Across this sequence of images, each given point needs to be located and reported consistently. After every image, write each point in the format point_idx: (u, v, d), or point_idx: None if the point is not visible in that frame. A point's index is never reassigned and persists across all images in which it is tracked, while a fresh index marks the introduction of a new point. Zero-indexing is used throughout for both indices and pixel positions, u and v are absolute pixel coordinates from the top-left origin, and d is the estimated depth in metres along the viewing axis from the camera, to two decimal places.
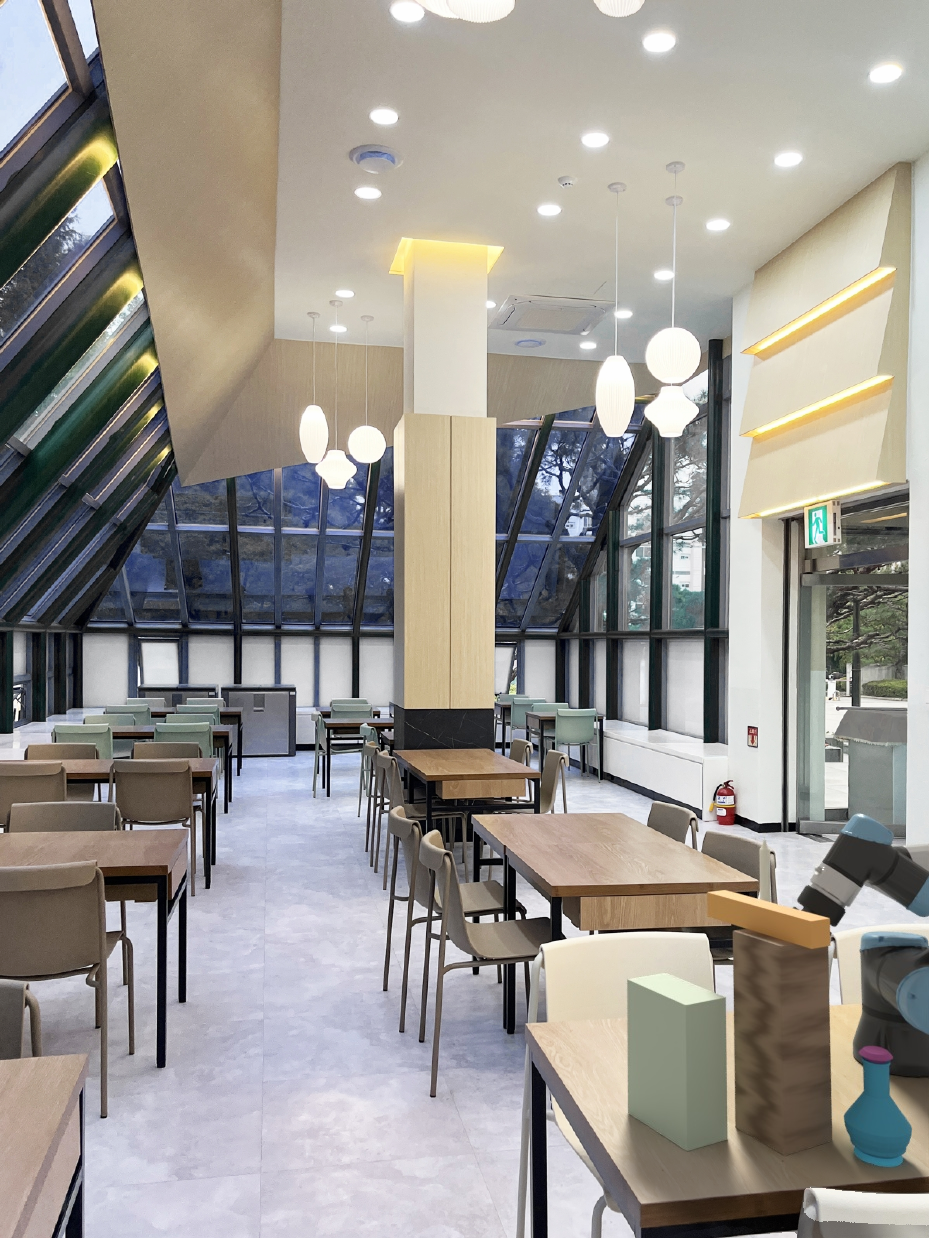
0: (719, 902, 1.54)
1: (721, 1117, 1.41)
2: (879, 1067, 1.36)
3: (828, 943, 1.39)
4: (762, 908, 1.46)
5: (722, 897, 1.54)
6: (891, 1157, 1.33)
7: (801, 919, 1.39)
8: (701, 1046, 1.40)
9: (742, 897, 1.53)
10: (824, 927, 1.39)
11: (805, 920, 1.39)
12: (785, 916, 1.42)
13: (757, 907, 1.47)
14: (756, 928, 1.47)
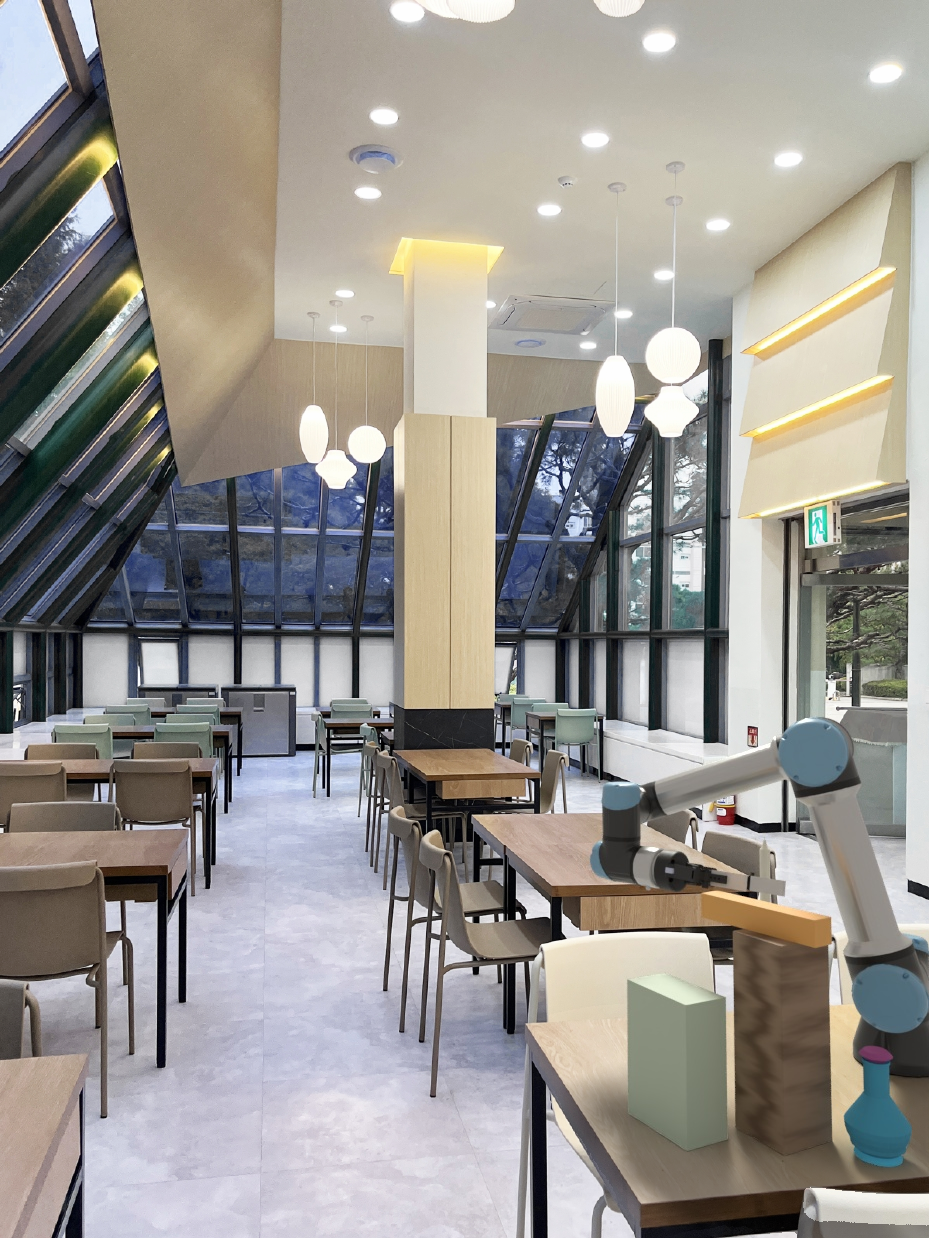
0: (715, 902, 1.54)
1: (721, 1117, 1.41)
2: (879, 1066, 1.36)
3: (830, 942, 1.40)
4: (761, 908, 1.46)
5: (718, 898, 1.54)
6: (891, 1157, 1.33)
7: (804, 918, 1.40)
8: (701, 1046, 1.40)
9: (737, 897, 1.53)
10: (826, 926, 1.40)
11: (808, 919, 1.39)
12: (787, 915, 1.42)
13: (756, 907, 1.47)
14: (755, 928, 1.47)
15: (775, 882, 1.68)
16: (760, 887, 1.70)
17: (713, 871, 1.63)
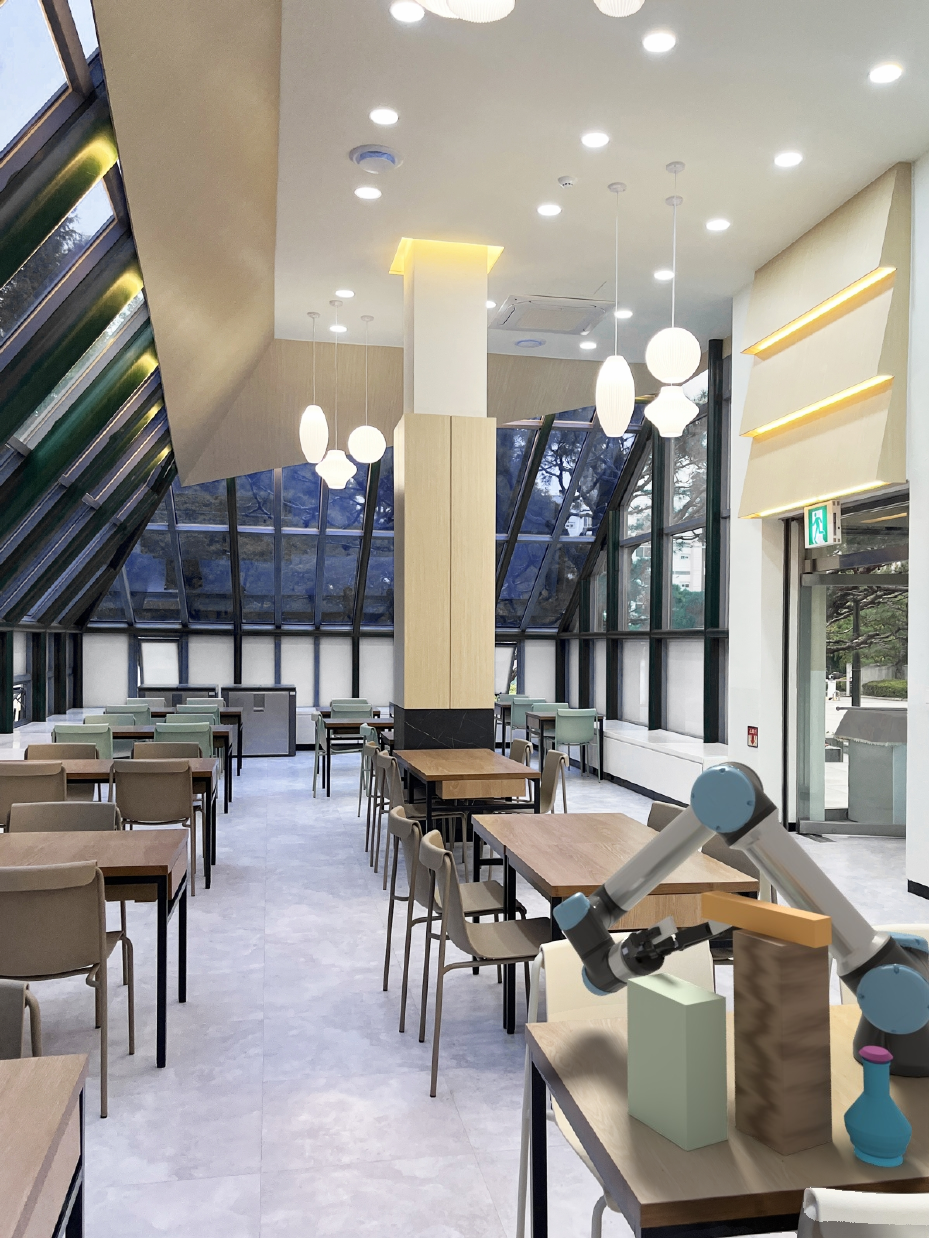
0: (715, 902, 1.54)
1: (721, 1117, 1.41)
2: (879, 1066, 1.36)
3: (830, 942, 1.40)
4: (761, 908, 1.46)
5: (718, 898, 1.54)
6: (891, 1157, 1.33)
7: (804, 918, 1.40)
8: (701, 1046, 1.40)
9: (737, 897, 1.53)
10: (826, 926, 1.40)
11: (808, 919, 1.39)
12: (787, 915, 1.42)
13: (756, 907, 1.47)
14: (755, 928, 1.47)
15: None
16: (718, 926, 1.66)
17: (649, 929, 1.61)
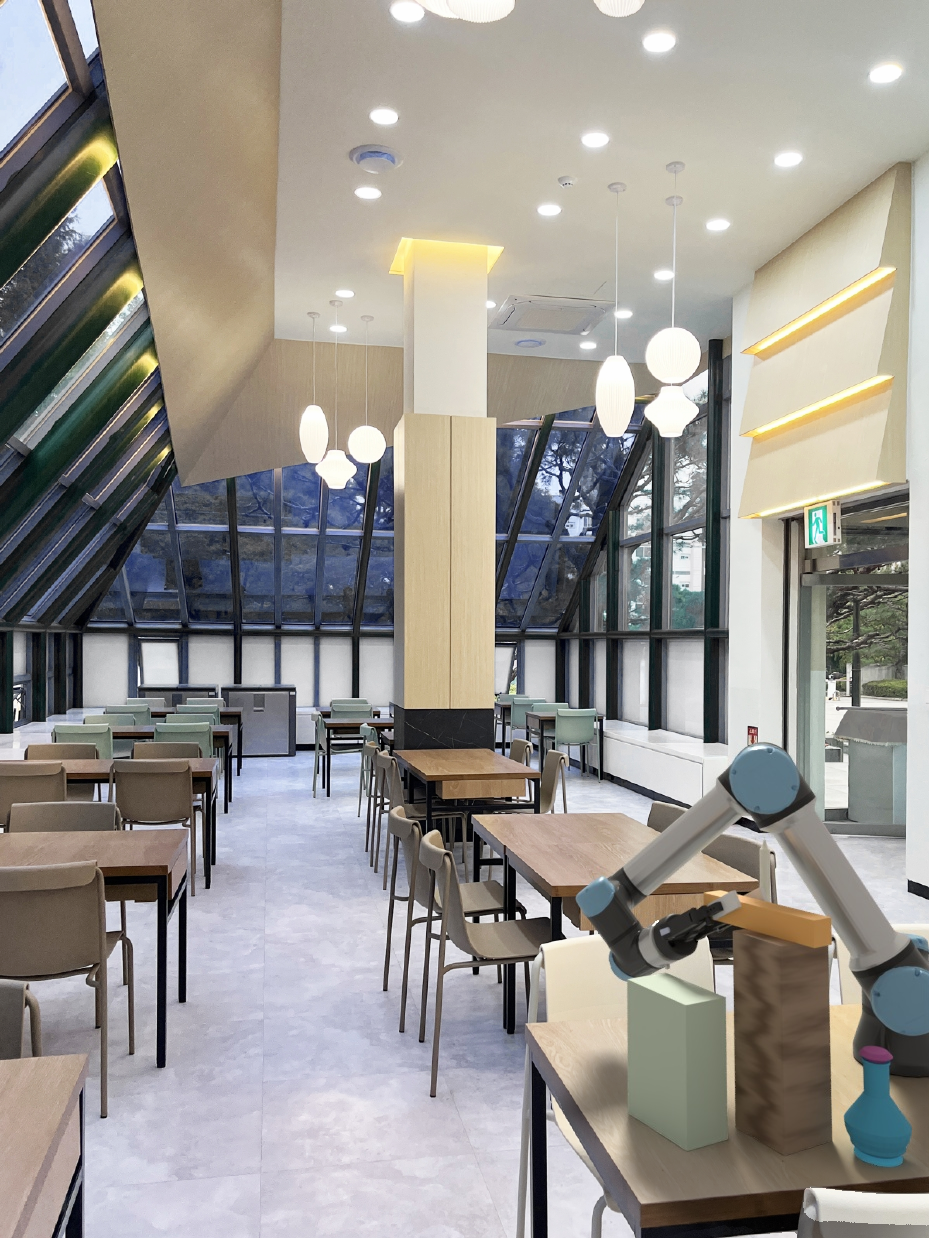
0: None
1: (721, 1117, 1.41)
2: (879, 1066, 1.36)
3: (829, 942, 1.40)
4: (762, 908, 1.46)
5: (719, 897, 1.54)
6: (891, 1157, 1.33)
7: (803, 918, 1.40)
8: (701, 1046, 1.40)
9: (739, 897, 1.53)
10: (826, 926, 1.40)
11: (808, 919, 1.39)
12: (787, 915, 1.42)
13: (757, 907, 1.47)
14: (756, 928, 1.47)
15: (754, 893, 1.54)
16: None
17: (709, 904, 1.54)
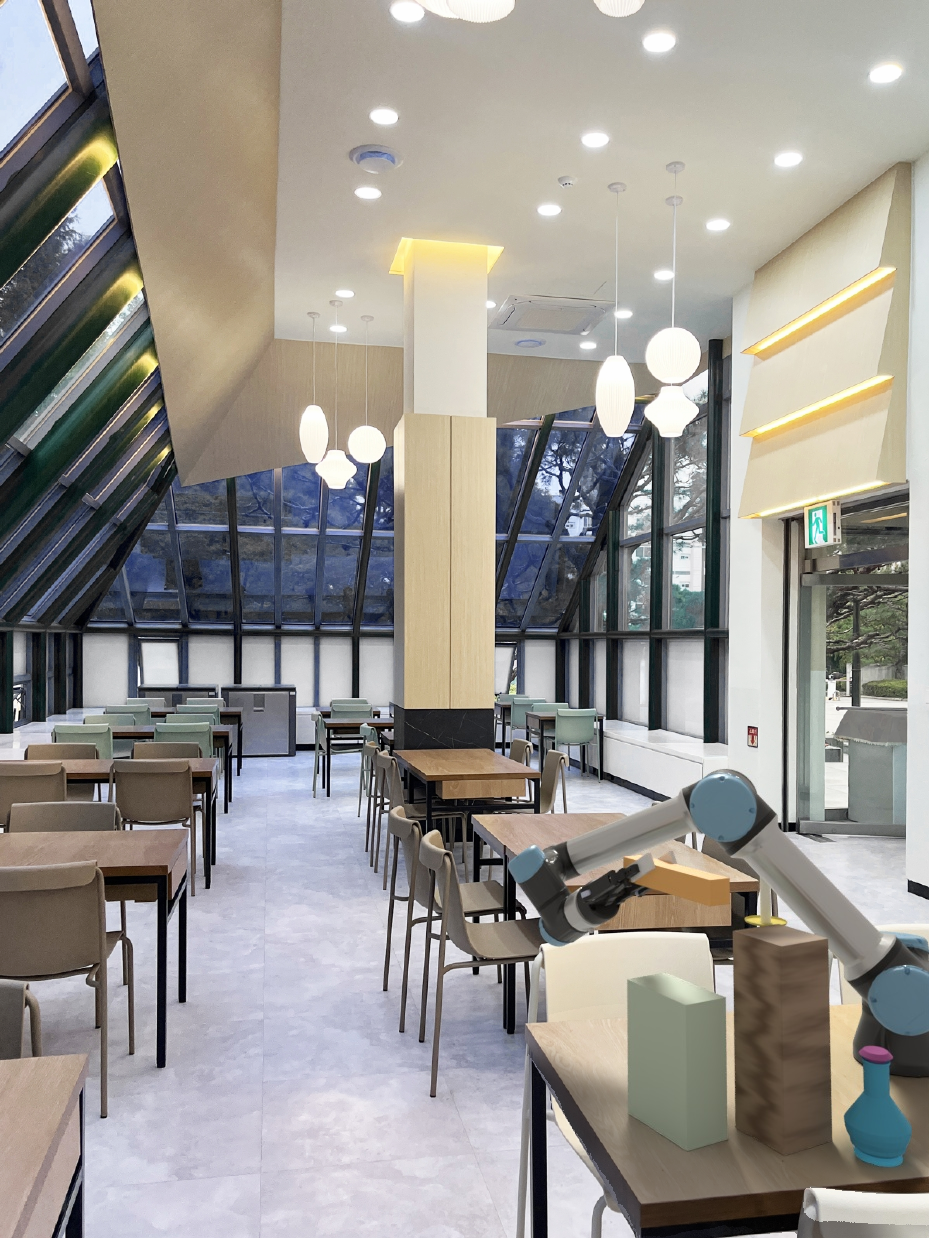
0: None
1: (721, 1117, 1.41)
2: (879, 1066, 1.36)
3: (727, 901, 1.45)
4: (669, 869, 1.52)
5: None
6: (891, 1157, 1.33)
7: (702, 878, 1.45)
8: (701, 1046, 1.40)
9: (655, 861, 1.59)
10: (723, 886, 1.45)
11: (705, 879, 1.45)
12: (688, 876, 1.48)
13: (665, 869, 1.53)
14: (664, 889, 1.53)
15: (665, 857, 1.59)
16: None
17: (628, 867, 1.60)
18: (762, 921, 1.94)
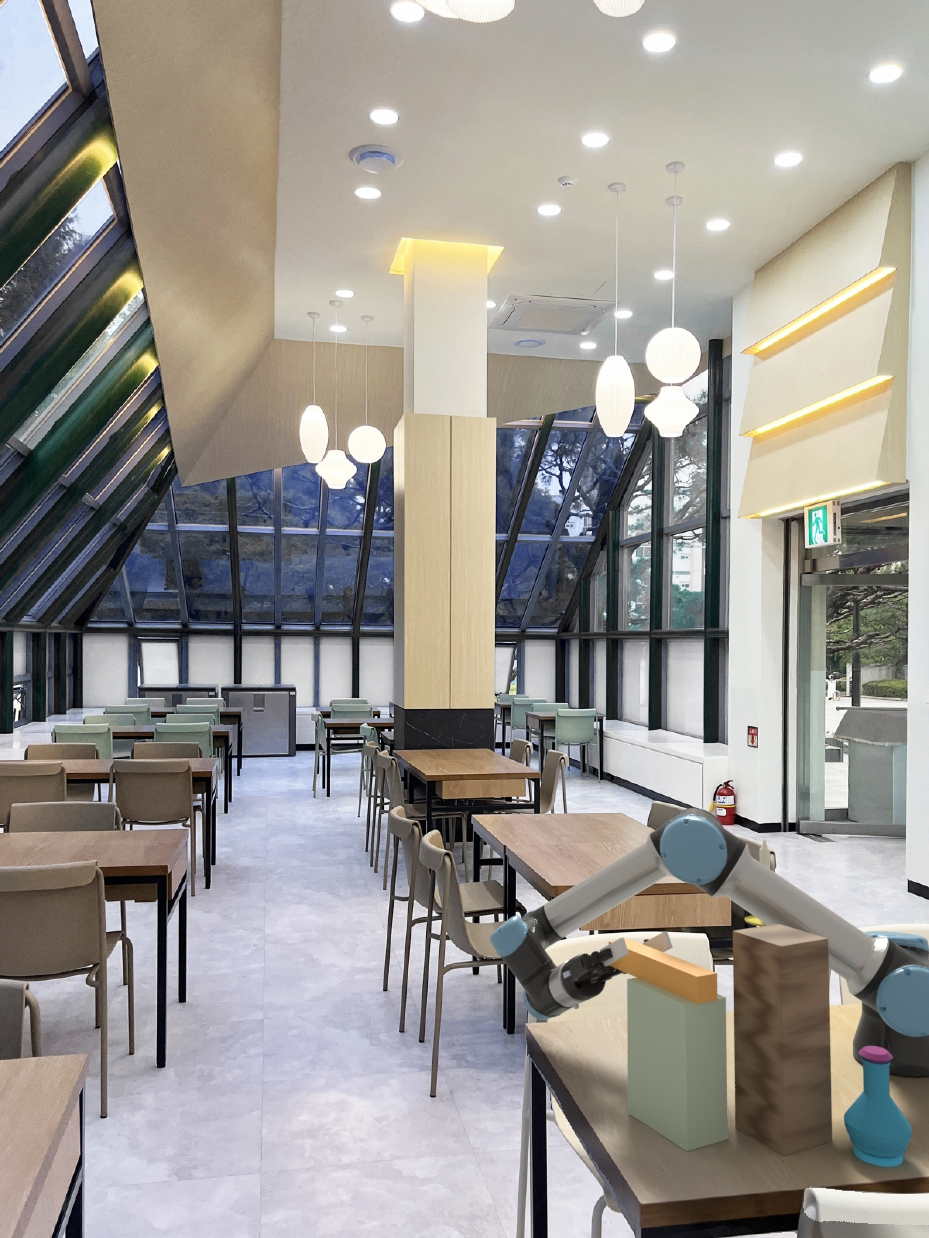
0: None
1: (721, 1117, 1.41)
2: (879, 1066, 1.36)
3: (715, 998, 1.41)
4: (655, 960, 1.48)
5: None
6: (891, 1157, 1.33)
7: (688, 974, 1.42)
8: (701, 1046, 1.40)
9: (641, 947, 1.56)
10: (711, 982, 1.41)
11: (692, 975, 1.41)
12: (675, 970, 1.44)
13: (651, 959, 1.49)
14: (650, 980, 1.49)
15: (659, 937, 1.57)
16: None
17: (601, 950, 1.56)
18: None
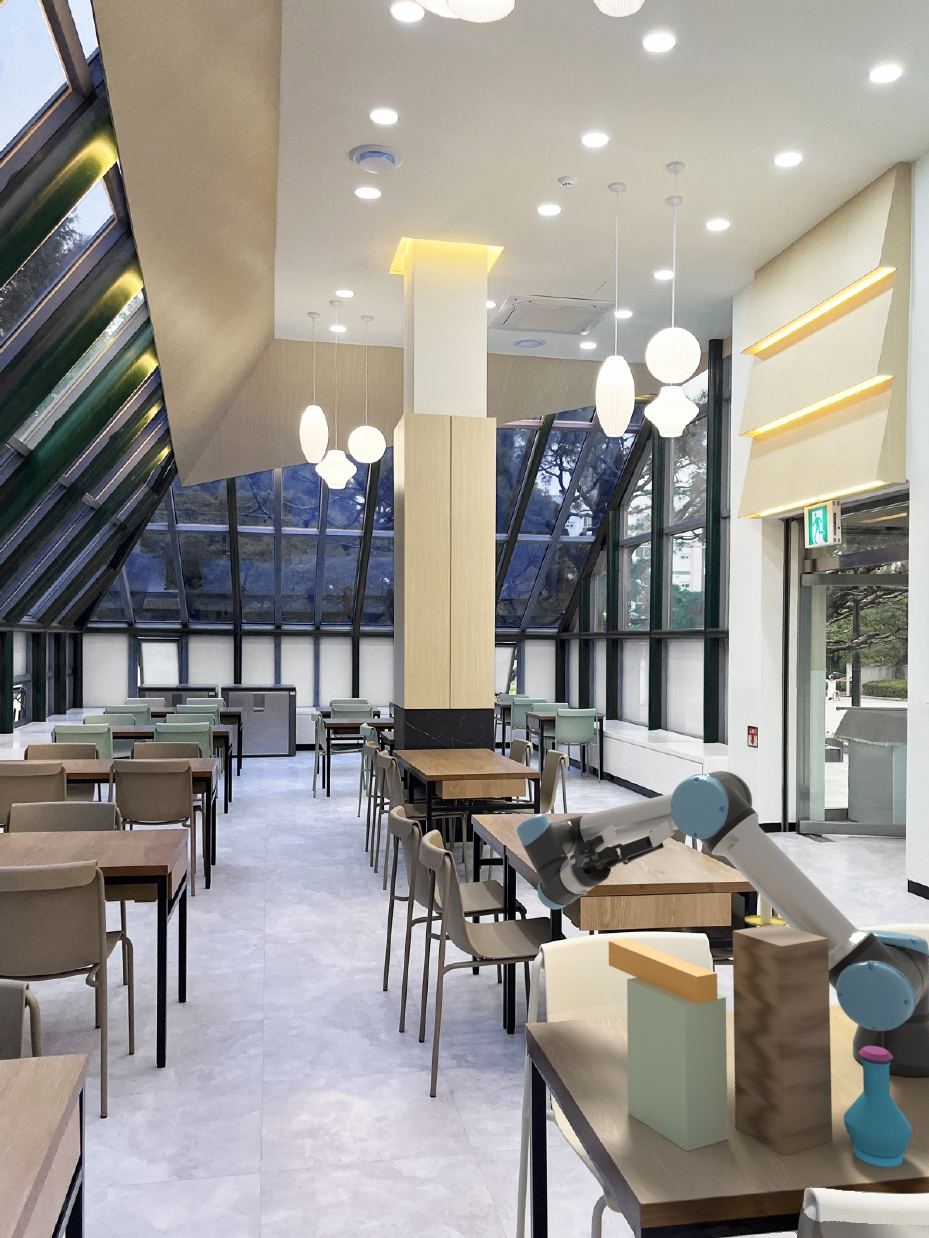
0: (619, 952, 1.57)
1: (721, 1117, 1.41)
2: (879, 1066, 1.36)
3: (715, 998, 1.41)
4: (655, 960, 1.48)
5: (621, 947, 1.56)
6: (891, 1157, 1.33)
7: (688, 974, 1.42)
8: (701, 1046, 1.40)
9: (641, 947, 1.56)
10: (711, 982, 1.41)
11: (692, 975, 1.41)
12: (675, 970, 1.44)
13: (651, 959, 1.49)
14: (650, 980, 1.49)
15: (663, 826, 1.81)
16: (657, 838, 1.82)
17: None
18: (762, 921, 1.94)
